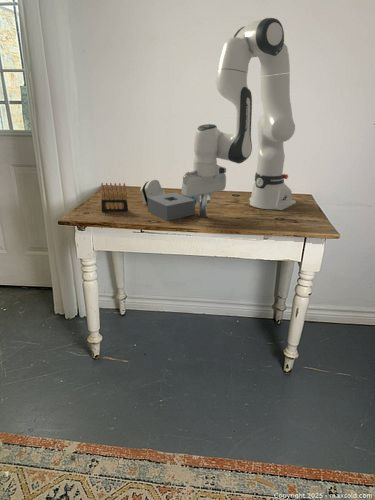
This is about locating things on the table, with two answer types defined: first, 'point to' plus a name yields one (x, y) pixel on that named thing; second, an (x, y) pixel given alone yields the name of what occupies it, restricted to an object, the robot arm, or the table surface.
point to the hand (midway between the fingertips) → (203, 204)
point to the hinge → (151, 190)
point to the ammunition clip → (114, 199)
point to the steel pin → (203, 206)
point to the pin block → (171, 206)
